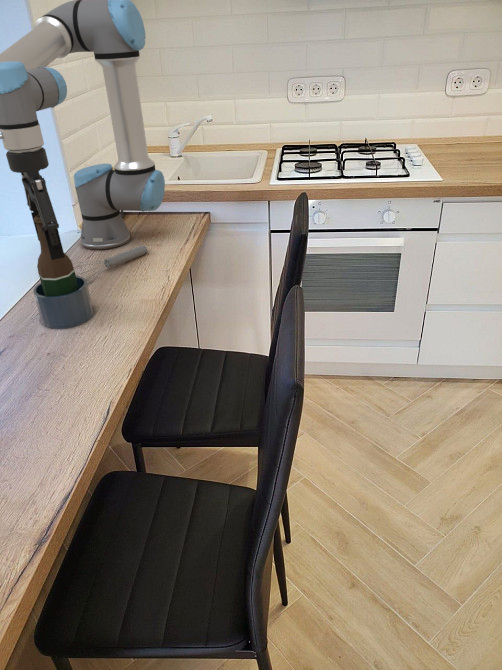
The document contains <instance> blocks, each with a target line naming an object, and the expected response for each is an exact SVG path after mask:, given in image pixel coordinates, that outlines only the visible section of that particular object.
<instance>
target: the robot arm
mask: <svg viewBox="0 0 502 670" xmlns="http://www.w3.org/2000/svg"><path fill="white" fill-rule="evenodd" d="M145 45H146V28H145V25H144V20H143V17H142V15H141V13H140V11H139V9H138V8H137V6H136V4H135V3H134V2H133V1H132V0H69V1H67V2H64V3H61V4H60V5H58V6H57V7H55V8H53V9H51V10H50V11H48V12H46V13H45V14H43V15H42V16H41V17H39V18H38V19H37V20H36V21H35V22H34V26H33V29H32V30H30V31H29V32H27V33H26V34H25V35H23V36H22V37H21V38H19V39H18V40H17V41H16V42H14V43H13V44H11V45H10V46H9V47H7V48H6V49H5V50H3V51H2V52H0V140H2V141H1V142H2V144H3V148H4V149H5V150H6V154H5V156H6V159H7V164H8V167H9V170H10V171H11V172H13V173H17V174H20V175H21V183H22V185H23V188H24V189H23V190H24V194H25V198H26V205H27V206H28V207H29V211H30V214H31V217H32V221H33V225H34V229H35V232H36V236H37V241H39V242H40V240H39V235H38V230H37V225H36V223H35V222H34V217H36V216H37V215H40V218H41V221H42V224H43V226H44V227H42V228H41V232H44V234H45V238H46V242H47V245H48V249H49V253H50V257H51V260H55V259H59V258H64V257H65V256H64V253H65V252H64V248H63V243H62V241H61V237H60V236H61V235H60V232H59V228H60V224H59V222H58V219H57V216H56V213H55V210H54V207H53V203H52V201H51V198H50V195H49V192H48V188H47V183H46V180H45V177H43V176H42V174H40V171H41V170H45V169H47V168H48V167H49V159H48V155H47V151H46V148H45V147H43V146H44V145H45V142H44V137H43V134H42V129H41V125H40V123H39V119H38V114H37V112H39V111H43V110H47V109H50V108H51V109H54V108H55V107H57V106H59V105H61V104H62V103H63V102H64V101H65V100H66V98H67V95H68V86H67V83H66V80H65V78H64V76H63V75H62V74H61V73H60V71H58V70H57V69H56V68H53V67H48V66H49V65H50V64H51V63H53V62H54V61H55V60H56V59H63V58H66V57H67V56H68V55H69V54H75V53H93V54H94V61H95V62H96V63H97V64H99V65H100V66H101V68H102V74H103V79H104V85H105V92H106V95H107V103H108V108H109V114H110V120H111V127H112V131H113V137H114V142H115V149H116V154H117V162H116V163H115V164H114V166H113V165H112V164H111V163H101V164H100V163H98V164H94V165H89V166H87V167H83V168H81V169H78V170H76V171H75V173H74V174H73V182H74V189H75V193H76V196H77V202H78V206H79V210H80V215H81V219H82V222H81V223H82V224H81V230H80V231H81V232H80V244H81V246H82V247H83V248H85V249H88V250H93V251H94V250H95V251H96V250H97V251H101V250H110V249H114V248H118V247H122V246H124V245H127V243H129V242H130V240H131V233H130V230H129V228H128V227H127V224H126V223H125V221H124V218H125V213H124V211H130V212H131V211H133V212H151V211H152V212H153V211H157V210H158V209H159V208H160V207H161V205H162V202H163V200H164V196H165V190H166V189H165V188H166V183H165V182H166V180H165V176H164V173H163V172H162V171H161V170H159V169H156V163H155V161H154V160H152V159H151V158H150V157H149V152H148V144H147V138H146V131H145V123H144V118H143V117H144V116H143V110H142V109H143V108H142V103H141V95H140V88H139V82H138V76H137V69H136V64H137V63H138V61H139V59H140V58H141V56H140V55H141V54H140V51H141V50H143V49H144V47H145ZM120 210H121V211H120ZM49 222H52V223H50V224H47V223H49Z"/></svg>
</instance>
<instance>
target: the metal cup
mask: <svg viewBox="0 0 502 670" xmlns="http://www.w3.org/2000/svg"><path fill="white" fill-rule="evenodd" d="M76 279H77V283H78V288H79V290H77V291H75V292H72V293H70V294H67V295H62V296H54V297H48V296H45V295H44V292H43V288H42V284H41V282H39V283H38V284H37V285H36V284H35V286H34V288H33V291H32V292H33V296H34V300H35V303H36V306H37V311H38V315H39V317H40V320H41V323H42V324H43V326H45V327H46V328H49V329H55V330H62V329H63V330H64V329H69V328H74V327H78V326H80V325H82V324H84V323H86V322H87V321H89V320H90V319H91V318H92V316H93V315H94V307H93V304H92V299H91V294H90V289H89V286H88V285H89V284H87V283H88V280H87V278H85V277H83V276H81V275H79V276H76Z"/></svg>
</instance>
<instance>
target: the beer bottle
mask: <svg viewBox="0 0 502 670" xmlns="http://www.w3.org/2000/svg"><path fill="white" fill-rule="evenodd" d="M34 222H35V223H36V225H37V230H38V235H39V240H40V241H39V240H38V241H39V245H40V254H39V256H38V258H37V263H36V264H37V266H36V267H37V273H38V277H39V280H40V281H39V282H40V283H41V284H42V288H43V292H44V295H45V296H48V297H54V296H62V295H67V294H70V293H72V292H75V291H77V290H79V288H78V283H77V279H76V275H77V274H76V271H75V268H74V267H75V266H74V263H73V262H72V260H71V259H70V257H69V256H68V254H67V253H65V252H64V256H65V257H64V258H59V259H55V260H51V257H50V253H49V249H48V245H47V242H46V238H45V234H44V232H41V228H42V227H44V226H43V224H42V221H41V218H40V215H37V216H36V217H34ZM34 222H33V223H34ZM50 223H52V222H49V223H47V224H50Z"/></svg>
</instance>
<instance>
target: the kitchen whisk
mask: <svg viewBox="0 0 502 670" xmlns="http://www.w3.org/2000/svg"><path fill="white" fill-rule="evenodd" d="M147 246H148V247H147ZM150 248H151V246H150V245H149V244H145V245H140V246H137V247H134V248H132V249H128V250H126V251H123V252H121V253H118V254H116V255H113V256H111V257H108V258H105V259H104V260H87V264H86V263H84V261H80V262H78V264H79V265H76V266H73V267H74V269H76V268H80V267H85V266H87V265H88V266H91V265H93V264H94V265H97V264H100V263H102V265H99V266H96V267H93V268H92V269H89V270H86V271H84V272H81V273H78V274H75V275H76V276H81V275H84V274H86V273H88V272H92V271H94V270H96V269H100V268H101V269H100V270H98V271H97V272H95V273H93V274H92V275H90V276H89V277H87V278H86V280H87V285H89V283H90V282H92V281H93V280H95V279H96V278H97V277H98V276H100V275H101V274H102V273H103V272H104V271H106V269H111V268H114V267H116V266H119V265H121V264H123V263H126V262H129V261H131V260H134V259H136V258H139V257H141V256H144V255H146V254H147V253H148V251H149V250H150ZM82 263H83V264H82ZM75 264H77V262H74V263H73V265H75Z"/></svg>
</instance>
